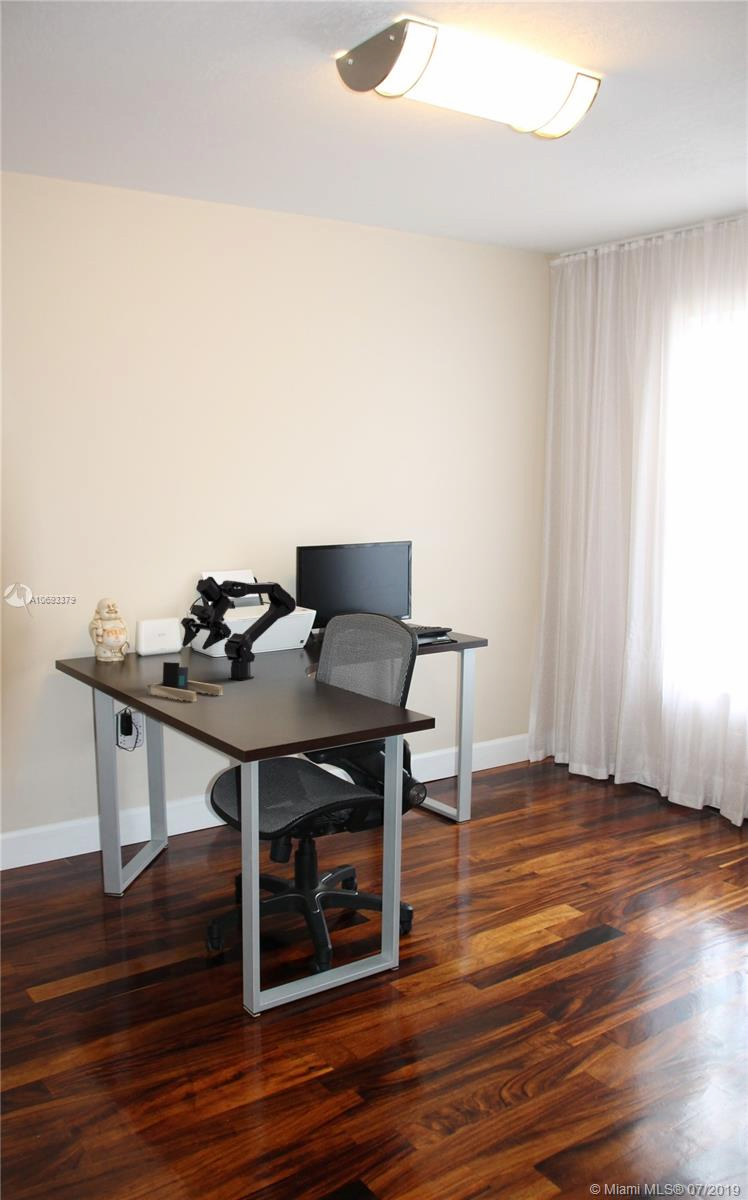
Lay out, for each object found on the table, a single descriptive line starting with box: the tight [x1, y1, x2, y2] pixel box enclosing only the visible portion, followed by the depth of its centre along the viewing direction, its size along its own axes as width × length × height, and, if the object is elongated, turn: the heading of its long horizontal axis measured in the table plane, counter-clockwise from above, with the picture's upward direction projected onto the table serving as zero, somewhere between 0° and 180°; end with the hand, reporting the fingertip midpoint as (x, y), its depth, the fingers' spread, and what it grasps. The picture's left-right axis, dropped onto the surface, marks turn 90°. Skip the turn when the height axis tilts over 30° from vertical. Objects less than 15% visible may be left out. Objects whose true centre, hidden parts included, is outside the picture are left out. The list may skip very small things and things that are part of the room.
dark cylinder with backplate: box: [162, 661, 189, 690], centre depth 313 cm, size 8×6×10 cm
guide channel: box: [146, 679, 224, 703], centre depth 311 cm, size 13×20×3 cm, turn 55°
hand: (193, 647), depth 320 cm, fingers open, 9 cm apart
